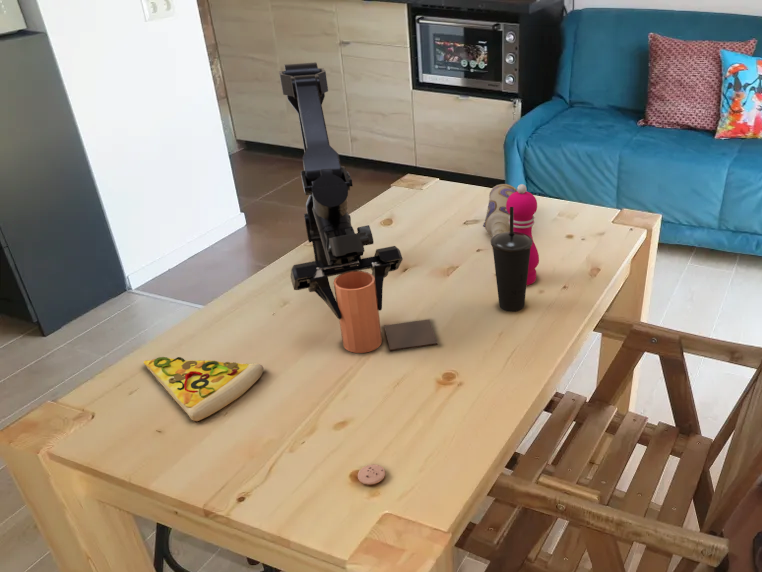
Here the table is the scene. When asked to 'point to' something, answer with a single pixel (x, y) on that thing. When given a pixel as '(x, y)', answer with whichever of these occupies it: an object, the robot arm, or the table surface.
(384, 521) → the table surface
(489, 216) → the decorative bottle
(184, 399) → the pizza slice
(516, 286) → the drinking cup
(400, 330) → the walnut coaster
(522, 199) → the pepper mill
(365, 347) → the peach cup
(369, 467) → the cookie
